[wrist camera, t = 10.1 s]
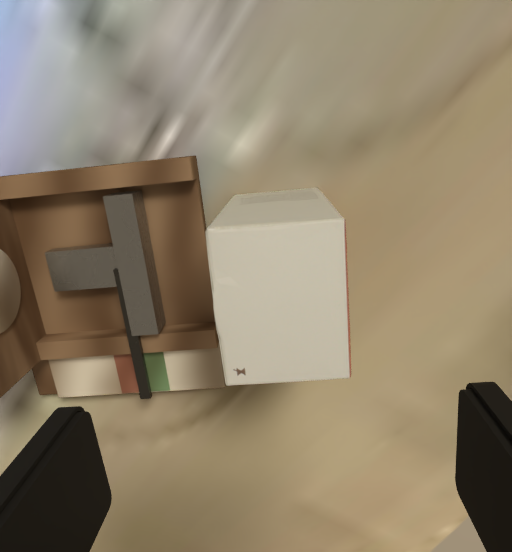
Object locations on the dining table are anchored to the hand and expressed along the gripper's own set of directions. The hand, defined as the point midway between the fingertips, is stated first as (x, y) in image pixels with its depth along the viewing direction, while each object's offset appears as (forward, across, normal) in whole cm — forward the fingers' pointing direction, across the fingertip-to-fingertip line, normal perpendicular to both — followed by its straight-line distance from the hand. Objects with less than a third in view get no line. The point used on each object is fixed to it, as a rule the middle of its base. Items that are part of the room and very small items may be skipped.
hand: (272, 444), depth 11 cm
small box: (+22, 0, 0) cm, 23 cm away
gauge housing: (+22, +13, +2) cm, 26 cm away
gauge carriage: (+21, +13, +3) cm, 25 cm away
